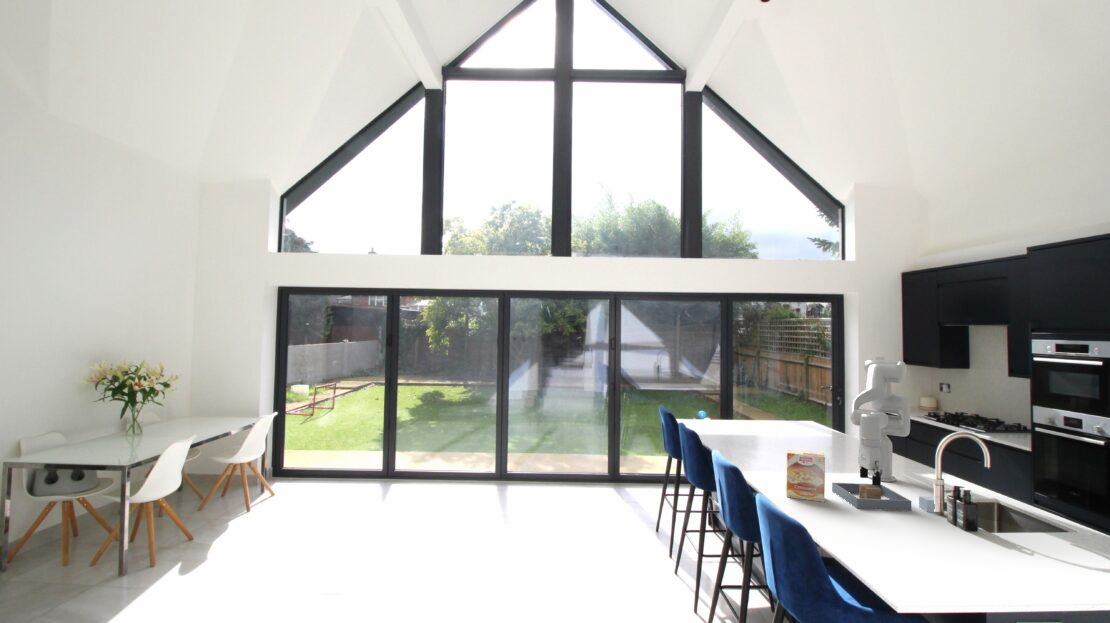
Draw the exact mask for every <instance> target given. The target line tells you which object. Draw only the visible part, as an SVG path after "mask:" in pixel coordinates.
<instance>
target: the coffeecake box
mask: <svg viewBox="0 0 1110 623" xmlns="http://www.w3.org/2000/svg"><path fill="white" fill-rule="evenodd" d="M785 465H786V466H785V467H786V472H785V475H786V476H785V477H786V478H785V479H786V480H785V495H786V498H790V497H791V499H798V500H805V499H806V500H807V501H812V500H813V502H819V501H821V503H824V502H825V485H826V484H825V483H826V479H825V478H826V476H825V475H826V456H825V454H824V453H822V452H812V451H803V450H793V449H786V464H785ZM806 500H805V501H806Z"/></svg>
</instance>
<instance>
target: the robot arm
mask: <svg viewBox="0 0 1110 623" xmlns="http://www.w3.org/2000/svg"><path fill="white" fill-rule="evenodd" d="M863 364H864V365H863V366H864V367H863V368H864V371H865V373H866V377H865V387H864V390H863V391H861V392H860V393H859V394H857V395H856V396H855V397H854V399H853V401H852V403H851V409H850V417H849V418H850V422H851V423H852V425H855V426H856V427H857V426H859V428H860V429H859V432H860V433H859V434H860V435H859V436H860V439H859V440H860V442H859V446H858V447H859V448H858V457H857V458H858V459H857V460H858V461H857V462H858V465H859V478H861V479H868V478H869V479H871V480H872V483H871V484H872V485H876V486H880V485H882V484H881V482H888V483H892V482H895V481H897V477H896V476H894V475H893V442H892V440H891V439H890V438H889V437H888V436H895V437H896V436H897V437H908V436H909V434H910V433H911V432H910V431H911V405H910V403H911V402H910V400H909V398H908V396H907V395H905V394H900V393H899V394H898V393H893V392H892V387H893V386H892V385H893V384H894V383H895V384H896V383H898V384H900V383H903V381H904V380H905V378H906V376H907V371H908V370H907V364H906V363H905V362H904V361H902V360H892V359H891V360H890V359H876V358H875V359H867V360H865V361H864V363H863ZM892 383H893V384H892ZM869 402H871V407H872V408H871V409H873V410H871V409H865V408H863V409H862V408H860V407H861V406H862V405H864V404H867V403H869ZM887 413H888V414H887ZM890 414H896V415H890ZM887 435H888V436H887Z"/></svg>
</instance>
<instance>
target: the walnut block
mask: <svg viewBox="0 0 1110 623" xmlns="http://www.w3.org/2000/svg"><path fill="white" fill-rule="evenodd" d="M858 484H859V493H858V498H863V499H882V494H881V489H880V488H878V487H876V486H874V485H862V484H863V483H858Z"/></svg>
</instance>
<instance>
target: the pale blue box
mask: <svg viewBox="0 0 1110 623" xmlns="http://www.w3.org/2000/svg"><path fill="white" fill-rule="evenodd" d="M934 498H935V497H934V496H932V495H931V496H930V495H928V496H927V495H919V496H918V508H919V509H920V508H921V509H920V510H922V511H924V512H926V513H935V512H934V509H935V504H934Z"/></svg>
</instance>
